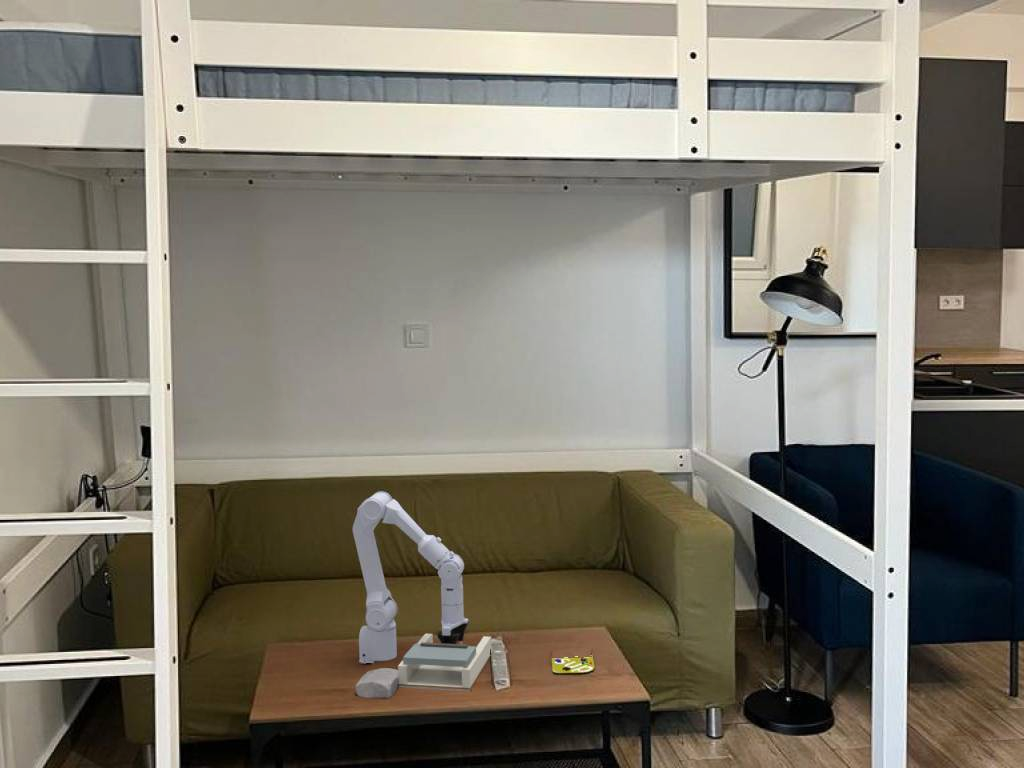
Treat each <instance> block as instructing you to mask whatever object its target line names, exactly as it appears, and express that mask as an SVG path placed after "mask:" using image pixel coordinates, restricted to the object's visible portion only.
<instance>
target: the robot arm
mask: <svg viewBox="0 0 1024 768" xmlns="http://www.w3.org/2000/svg"><path fill="white" fill-rule="evenodd" d="M356 513H357V514H356V516H355V518H354V522H353V526H352V534H353V538H354V542H355V546H356V550H357V555H358V561H359V563H360V569H361V572H362V577H363V581H364V585H365V590H366V594H367V595H366V601H365V606H366V607H365V608H366V613H365V622H366V624H367V625H363V626H361V628H360V631H359V635H358V648H359V649H358V651H359V654H358V655H359V660H358V663H359V662H361V663H360V664H366V663H372V664H374V663H375V661H376V662H385V661H390V660H393V659H395V658H396V657H397V655H398V652H397V651H398V650H397V646H398V645H397V624H396V621H395V619H394V618H395V617H396V615H397V614H398V610H399V609H398V604H397V602H396V601H395V600H394V599H393V596H392V594H391V591H390V589H388V588H387V585H386V580H385V576H384V571H383V566H382V563H381V559H380V558H381V557H380V553H379V550H378V545H377V541H376V536H375V533H374V531H375V528H376V527H377V525H378V524H379V522H380V521H381V519H383V520H382V524H387V525H388V524H390V525H395V526H396V527H397V528H399V529H400V530H401V531H402V532H404V534H406V535H407V536H408V538H409V539H411V540H412V541H414V542H415V543H416V544H417V551H418V553H419V554H420V555H421V556H422V557H423V558H424V559H425V560H426V561H427V562H428V563H429V564H431V566H433V567H434V568H435V569H436V570H438V571H437V575H438V576H439V579H441V581H440V582H441V584H440V599H441V619H440V624H441V626H442V627H441V630H440V631H438V632H437V638H438V640H439V641H440V642H439V643H444V644H457V641H463V642H464V637H465V633H466V629H467V627H468V624H469V619H468V618H466V617H465V615H464V614H465V613H464V609H465V608H464V607H465V606H464V585H463V575H462V573H463V571H464V569H465V563H464V559H462V557H461V556H460V555H459V554H456V553H454V551H452V550H449V549H448V547H446V545H444V544H443V543H442V542H441V541H442V539H441V538H440V537H439V536H437V537H436V536H435V535H432V534H426V532H425V531H423V529H422V528H421V527H420V526H419V525H418V524H417V523H416V522H415V520H414V519H413V518H412V517H411V516H410V515H409V514H408V513H407V512H406V511H405V510H404V509H403V507H402V506H401V505H400V503H399V502H398V501H397V500H396V499H394V498H392V496H391V495H390V494H389V493H388V492H386V491H377V492H375V493H373V494H372V495H371V496H370V497H369V498H366V499H365V500H364V501H363V502H361V504H360V505H359V507H357V512H356ZM364 661H365V662H364Z"/></svg>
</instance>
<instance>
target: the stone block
mask: <svg viewBox="0 0 1024 768" xmlns="http://www.w3.org/2000/svg"><path fill="white" fill-rule="evenodd" d="M399 686H400V684H399V679H398V669H394V668H391V667H389V668H387V667H384V668H383V667H380V668H378V669H377V668H376V669H372V670H369V671H366V673H365V674H363V675H362V676H361V677H360V679H359V681H358V682H357V683H356V684H355V692H356V695H357V696H358V697H360V698H361V697H362V698H366V699H367V698H379V699H390V698H392V697H393V695H394V693H396V691H397V690H398V689H399Z"/></svg>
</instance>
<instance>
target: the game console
mask: <svg viewBox="0 0 1024 768" xmlns="http://www.w3.org/2000/svg"><path fill="white" fill-rule="evenodd" d="M590 656H592V657H584V658H568V657H564V658H552V657H551V670H552V671H551V672H552V674H553V675H555V676H571V675H572V676H574V675H576V676H582V674H583V675H589V674H592V673H593V672H594V671H595V667H596V666H595V662H594V658H593V657H594V656H593V654H592V655H590ZM575 657H578V656H575ZM591 672H592V673H591Z"/></svg>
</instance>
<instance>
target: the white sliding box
mask: <svg viewBox="0 0 1024 768" xmlns="http://www.w3.org/2000/svg"><path fill="white" fill-rule="evenodd" d="M422 642H424V643H434V634H433V633H425V634H424V635H423V636H422V637H421V638H420V639H419V641H418V642H416V644H421V643H422ZM475 647H476V654H475V655H474V657H473V658H472V660H471V661H470V663H469V664H468V666H467V667H455V666H437V665H418V664H403V660H401V661H400V663H399V664H398V665H397V670H398V679H399V684H398V686H399V687H398V689H399V688H400V689H415V690H432V691H433V690H434V691H448V692H449V691H450V692H451V691H452V692H463V693H464V692H466V693H467V692H469V693H471V691H472V689H471V688H472V686H473V685H474V683H475V681H476V679H477V678H478V676H479V674H481V671H482V669H483V668H484V666H485V665H486V664H487V662H488V661H489V659H490V656H491V655H490V649H491V650H492V636H486V635H483V636H482V638H481V640H480V641H479V642H478V644H477V645H476V646H475ZM429 686H430V687H429ZM432 686H433V687H432ZM447 687H448V688H447ZM463 688H464V689H463Z"/></svg>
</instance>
